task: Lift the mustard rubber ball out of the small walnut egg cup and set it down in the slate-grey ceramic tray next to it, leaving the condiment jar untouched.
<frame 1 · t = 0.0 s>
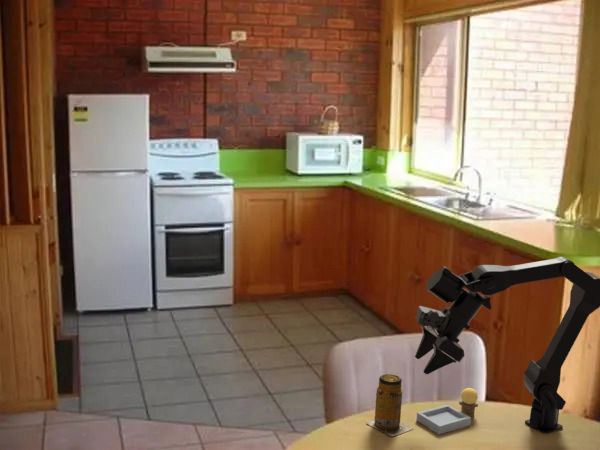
hand: (420, 365, 175), 15 cm above the table, tool tilted 35°, fingers open, 9 cm apart
egg cup: (467, 414, 184), on the table
ball: (469, 396, 183), point 5 cm above the table, touching egg cup
condiment: (389, 427, 176), on the table
tray: (443, 422, 179), on the table
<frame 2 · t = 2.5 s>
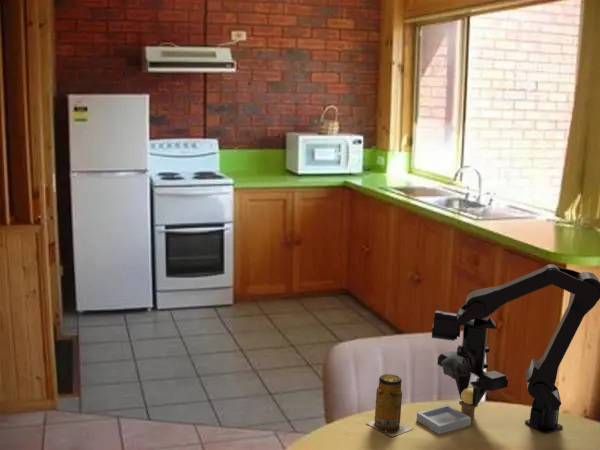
hand: (468, 402, 184), 3 cm above the table, tool pointing down, fingers closed on ball, 4 cm apart
ball: (469, 396, 183), point 5 cm above the table, touching egg cup, gripper
everything else where it was.
when the fingers open (4 cm above the table, at t = 5.2 s): ball drops 2 cm, resting on tray.
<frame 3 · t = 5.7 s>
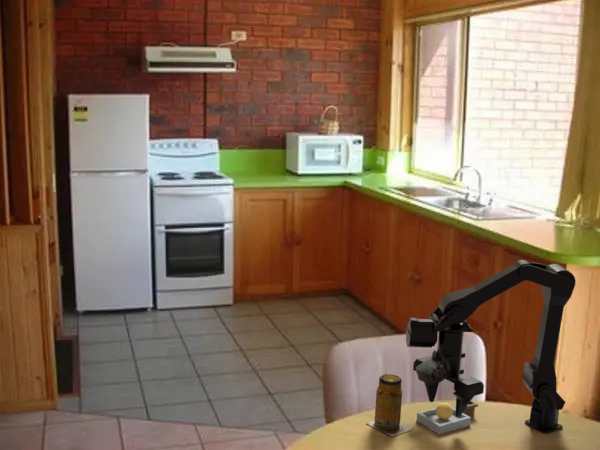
hand: (444, 409, 179), 4 cm above the table, tool pointing down, fingers open, 9 cm apart
ball: (444, 411, 179), point 3 cm above the table, touching tray
everything else where it was.
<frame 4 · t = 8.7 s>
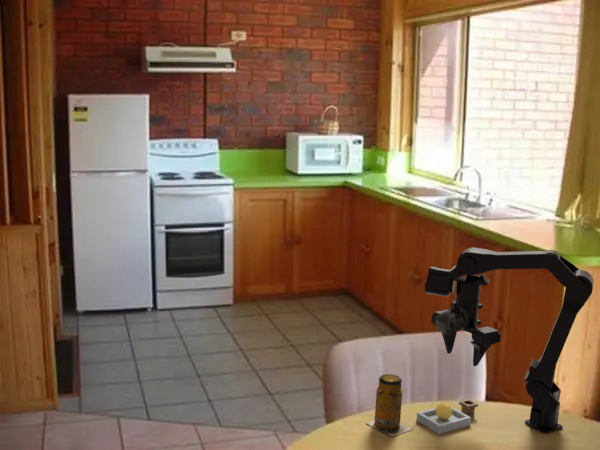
hand: (461, 359, 185), 13 cm above the table, tool pointing down, fingers open, 9 cm apart
nothing on the table moved.
at the end: ball inside the target area on the tray (0.1 cm from its centre), point 3.0 cm above the tray's base; ball touching tray; the gripper is holding nothing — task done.
